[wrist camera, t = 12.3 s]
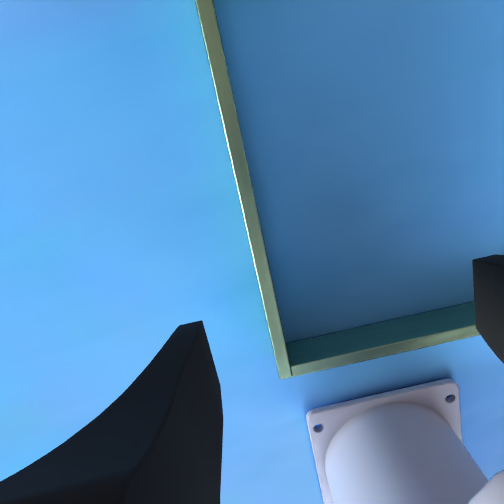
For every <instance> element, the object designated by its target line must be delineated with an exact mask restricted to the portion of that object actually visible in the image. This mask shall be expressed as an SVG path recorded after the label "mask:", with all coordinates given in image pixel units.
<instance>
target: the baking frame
mask: <svg viewBox="0 0 504 504" xmlns="http://www.w3.org/2000/svg"><path fill="white" fill-rule="evenodd" d="M195 2H196V7H197V11H198V16H199V20H200V25H201V29H202V34H203V38H204V43H205V47H206V51H207V56H208V60H209V65H210V69H211V74H212V78H213V83H214V87H215V92H216V96H217V101H218V105H219V110H220V114H221V119H222V123H223V128H224V132H225V136H226V141H227V145H228V150H229V154H230V159H231V163H232V168H233V172H234V177H235V181H236V186H237V190H238V195H239V199H240V204H241V208H242V212H243V217H244V221H245V226H246V230H247V235H248V239H249V244H250V248H251V253H252V257H253V262H254V266H255V271H256V275H257V280H258V284H259V288H260V293H261V297H262V302H263V306H264V311H265V315H266V320H267V324H268V329H269V333H270V338H271V342H272V347H273V351H274V356H275V360H276V364H277V369H278V373H279V378H280V379H285V378H289V377H292V376H293V377H295V376H299V375H304V374H308V373H312V372H317V371H321V370H326V369H330V368H335V367H339V366H344V365H348V364H353V363H357V362H361V361H366V360H370V359H375V358H379V357H384V356H388V355H393V354H397V353H402V352H406V351H410V350H415V349H419V348H424V347H428V346H433V345H437V344H442V343H446V342H450V341H455V340H459V339H464V338H468V337H473V336H477V335H480V333H479V332H478V330H477V329H476V323H475V302H469V303H465V304H460V305H456V306H452V307H447V308H443V309H438V310H434V311H429V312H425V313H420V314H416V315H411V316H407V317H403V318H398V319H394V320H389V321H385V322H380V323H376V324H371V325H367V326H362V327H358V328H354V329H349V330H345V331H340V332H336V333H331V334H327V335H322V336H318V337H313V338H309V339H304V340H300V341H296V342H291V343H287V344H286V343H285V338H284V333H283V329H282V324H281V319H280V314H279V310H278V305H277V300H276V296H275V291H274V286H273V281H272V277H271V272H270V267H269V263H268V258H267V253H266V248H265V244H264V239H263V234H262V229H261V225H260V220H259V215H258V211H257V206H256V201H255V196H254V192H253V187H252V182H251V177H250V173H249V168H248V163H247V159H246V154H245V149H244V144H243V140H242V135H241V130H240V126H239V121H238V116H237V111H236V107H235V102H234V97H233V92H232V88H231V83H230V78H229V74H228V69H227V64H226V59H225V55H224V50H223V45H222V41H221V36H220V31H219V26H218V22H217V17H216V12H215V7H214V3H213V0H195Z"/></svg>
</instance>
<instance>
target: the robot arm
mask: <svg viewBox="0 0 504 504" xmlns="http://www.w3.org/2000/svg"><path fill="white" fill-rule="evenodd" d="M473 281H474V302H475V323H476V329H477V330H478V332H479V333H480V335H481V336H482V337H483V339H484V340H485V342H486V343H487V344H488V346H489V347H490V348H491V349H492V351H493V352H494V353H495V355H496V356H497V357H498V358H499V359H500V360H501V361H502V362H503V363H504V255H491V256H487V257H482V258H478V259H474V260H473ZM450 394H451V396H450V397H448V398H446V397H447V396H448V395H450ZM306 419H307V424H308V429H309V434H310V439H311V444H312V448H313V453H314V458H315V463H316V468H317V473H318V477H319V482H320V487H321V492H322V497H323V501H324V504H504V470H502V471H500V472H498V473H496V474H495V475H494V476H493V477H492V478H491V479H490V480H489V481H488V480H487V478H486V477H485V475H484V474H483V472H482V471H481V469H480V468H479V467H478V465H477V464H476V462H475V461H474V459H473V458H472V456H471V455H470V454H469V452H468V451H467V449H466V448H465V446H464V445H463V444H462V429H461V413H460V398H459V387H458V385H457V383H456V382H455V381H454V380H453V379H443V380H438V381H434V382H429V383H425V384H421V385H416V386H412V387H407V388H403V389H398V390H394V391H389V392H385V393H380V394H376V395H372V396H367V397H363V398H358V399H354V400H349V401H345V402H340V403H336V404H332V405H327V406H323V407H318V408H314V409H311V410H310V411H309V412H308V413H307V415H306ZM317 424H321V426H319V427H314V426H315V425H317ZM222 439H223V410H222V399H221V389H220V383H219V379H218V376H217V372H216V368H215V365H214V361H213V358H212V354H211V350H210V347H209V343H208V340H207V336H206V333H205V329H204V325H203V322H202V321H197V322H193V323H188V324H184V325H179V326H178V328H177V329H176V330H175V331H174V333H173V334H172V335H171V336H170V338H169V339H168V340H167V342H166V343H165V344H164V346H163V347H162V348H161V350H160V351H159V352H158V353H157V355H156V356H155V357H154V359H153V360H152V361H151V362H150V364H149V365H148V366H147V367H146V368H145V369H144V370H143V372H142V373H141V374H140V375H139V376H138V377H137V378H136V380H135V381H134V382H133V383H132V384H131V385H130V386H129V387H128V388H127V389H126V390H125V392H124V393H123V394H122V395H121V396H119V397H118V398H117V399H116V400H115V401H114V402H113V403H112V404H111V405H110V406H109V407H108V408H107V409H105V410H104V411H103V412H102V413H101V414H100V415H99V416H98V417H96V418H95V419H94V420H93V421H91V422H90V423H89V424H87V425H86V426H85V427H84V428H82V429H81V430H80V431H78V432H77V433H76V434H74V435H73V436H72V437H71V438H69V439H68V440H67V441H65V442H64V443H62V444H61V445H60V446H58V447H57V448H55V449H54V450H52V451H51V452H49V453H48V454H46V455H45V456H43V457H41V458H40V459H38V460H37V461H35V462H33V463H32V464H30V465H29V466H27V467H25V468H24V469H22V470H20V471H19V472H17V473H15V474H14V475H12V476H10V477H8V478H6V479H4V480H3V481H1V482H0V504H220V485H221V462H222Z"/></svg>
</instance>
